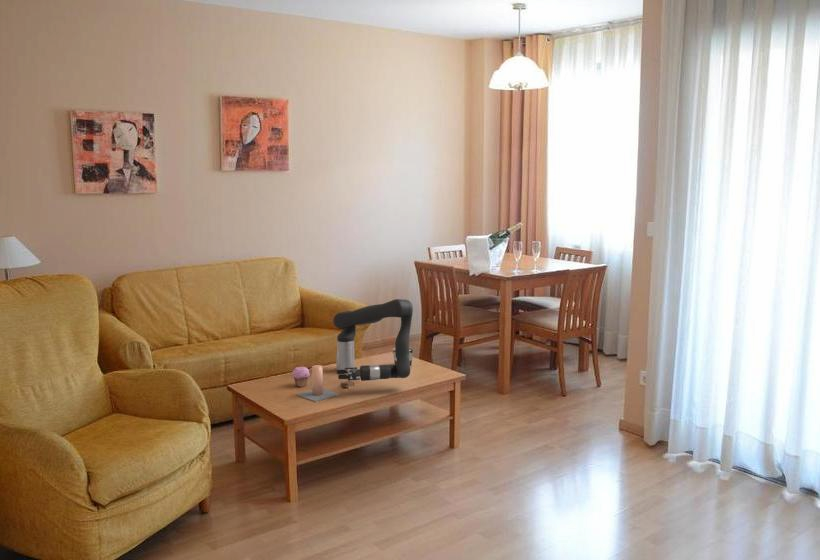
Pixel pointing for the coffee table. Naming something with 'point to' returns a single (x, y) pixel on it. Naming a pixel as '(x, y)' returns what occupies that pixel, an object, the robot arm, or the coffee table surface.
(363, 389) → the coffee table surface
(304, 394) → the charcoal mat
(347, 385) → the walnut block
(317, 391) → the terracotta canister
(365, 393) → the coffee table surface
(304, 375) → the cupcake
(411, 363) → the food container
